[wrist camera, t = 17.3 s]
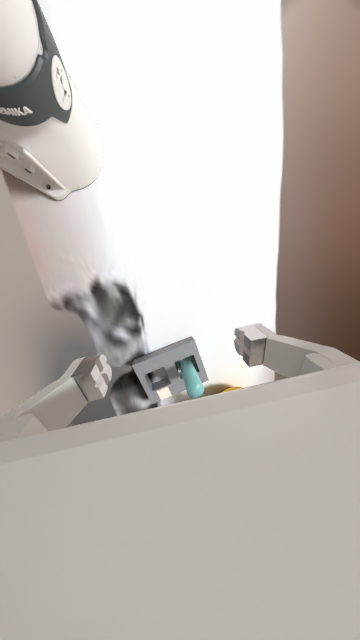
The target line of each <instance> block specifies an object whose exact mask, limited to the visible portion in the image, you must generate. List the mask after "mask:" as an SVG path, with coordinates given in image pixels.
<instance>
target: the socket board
mask: <svg viewBox="0 0 360 640" xmlns="http://www.w3.org/2000/svg"><path fill="white" fill-rule="evenodd" d="M191 355H193V357H194V359H195V362H196V365H197V366H195V370H196V372H197V374H198V376H199V378H200V380H201V383H203V382H205V381H208V377H207V374H206V371H205V369H204V366H203V363H202V360H201V357H200V355H199V352H198V349H197V346H196V343H195V340H194V339H193V337H189V338H187V339H184V340H182V341H179V342H177V343H174V344H172V345H169V346H167V347H164V348H162V349H159V350H157V351H154V352H152V353H149V354H147V355H144V356H142V357H139V358H137V359H134V360H133V364H132V367H133V369H134V371H135V373H136V374H137V376H138V378H139V380H140V382H141V384H142V386H143V388H144V390H145V392H146V394H147V396H148V397H149V399H150V401H151V403H152V404H153V403H156V402H158V401H160V400H163V399H165V398H167V397H170V396H172V395H174V394H177V393H179V392H182V391H184V390H186V386H185V383H184V379H183V376H182V372H181V373H179V371H178V369H177V367H176V364H175V362H177V361H179V360H182V359H184V358H187V357H189V356H191ZM162 367H164V368H165V371H166V373H167V375H168V377H169V378H166V379H164V380H161V381H159V382H156V383H154V384H152V383H151V381H150V379H149V377H148V375H147V373H150V372H152V371H155V370H157V369H160V368H162Z"/></svg>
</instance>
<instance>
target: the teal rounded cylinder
mask: <svg viewBox="0 0 360 640" xmlns="http://www.w3.org/2000/svg"><path fill="white" fill-rule="evenodd" d="M179 365H180V369H181V372H182V376H183V379H184V383H185V386H186V390H187V393H188V395H189V396H190V397H192V398H197V397H200V396H201V395H202V394H203V392H204V387H203V385H202V383H201V380H200V378H199V376H198V374H197V372H196V370H195V367H194V365H193V363H192V361H191V359H190V357H187V358H184V359H182V360H179Z"/></svg>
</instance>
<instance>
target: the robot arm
mask: <svg viewBox="0 0 360 640" xmlns="http://www.w3.org/2000/svg"><path fill="white" fill-rule="evenodd" d="M103 159H104V149H103V142H102V138H101V135H100V132H99V130H98V127H97V125H96V123H95V122H94V120H93V118H92V117H91V115H90V114H89V112H88V111H87V109H86V107H85V105H84V104H83V102H82V100H81V98H80V96H79V93H78V91H77V88H76V86H75V84H74V82H73V80H72V79H71V77H70V76H69V75H68V74H67V72H66V70H65V68H64V65H63V62H62V59H61V56H60V54H59V51H58V48H57V46H56V43H55V41H54V39H53V36H52V34H51V31H50V29H49V27H48V24H47V22H46V20H45V18H44V15H43V13H42V11H41V8H40V6H39V3H38V1H37V0H0V168H1V169H2V170H4V171H6V172H8V173H9V174H11V175H13V176H15V177H17V178H18V179H20V180H22V181H24V182H25V183H27V184H29V185H31V186H32V187H34V188H36V189H38V190H39V191H41V192H43V193H45V194H47V195H48V196H50V197H52V198H54V199H56V200H62V199H64V198H65V197H66V196H67V195H68V194H69V193H70V192H72V191H74V190H78V189H81V188H84V187H86V186H88V185H90V184H91V183H92V182H93V181H94V180H95V179H96V178H97V176H98V175H99V173H100V171H101V168H102V165H103ZM50 186H51V189H49V190H48V187H50ZM235 335H236V339H235V340H234V343H235V349H236V351H237V352H238V354H239V355H241V356H243V360H244V361H245V363H246V364H247V365H248V366H249V367H251V366H256V365H262V364H263V365H264V366H266V367H268V368H270V369H272V370H274V371H275V372H278V373H279V374H281V375H283V376H285V377H287V378H286V379H283V380H278V381H273V382H269V383H264V384H260V385H255V386H251V387H246V388H242V389H237V390H232V391H228V392H223V393H219V394H214V395H210V396H205V397H201V398H196V399H192V400H187V401H183V402H178V403H174V404H170V405H165V406H161V407H156V408H152V409H147V410H143V411H138V412H134V413H129V414H125V415H120V416H116V417H111V418H107V419H102V420H98V421H93V422H89V423H84V424H80V425H75V426H71V427H66V426H67V425H68V424H69V423H70V422H71V421H72V420H73V419H74V418H75V417H76V415H77V414H78V413H79V412H80V411H81V410H82V409H83V408H84V407H85V405H86V404H87V403H88V402H89V401H93V400H97V399H101V398H104V396H105V394H106V391H107V389H108V387H107V384H108V383H109V382H110V381H111V377H112V371H111V367H110V365H108V364H106V361H107V359H106V357H105V355H103V354H101V355H96V356H90V357H84V358H80V359H76V360H74V362H73V363H72V364H71V365H70V367H69V368H68V369H67V371H66V372H65V373H64V374H63V375H62V377H61V378H60V379H59V380H56V381H55V382H53V383H51V384H50V385H48V386H47V387H45V388H44V389H42V390H41V391H39V392H38V393H36V394H35V395H33V396H32V397H30V398H29V399H27V400H26V401H24V402H23V403H21V404H20V405H18V406H17V407H15V408H14V409H12V410H11V411H9V412H8V413H6V414H5V415H3V416H2V417H0V640H360V362H359V361H357V360H355V359H353V358H351V357H350V356H348V355H346V354H344V353H342V352H340V351H339V350H336V349H335V348H332V347H327V346H323V345H319V344H315V343H311V342H307V341H303V340H299V339H295V338H290V337H287V336H282V335H277V334H275V333H274V332H272V331H271V330H269V329H268V328H266V327H265V326H263V325H262V324H259V323H258V324H253V325H249V326H245V327H240V328H236V329H235Z"/></svg>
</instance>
